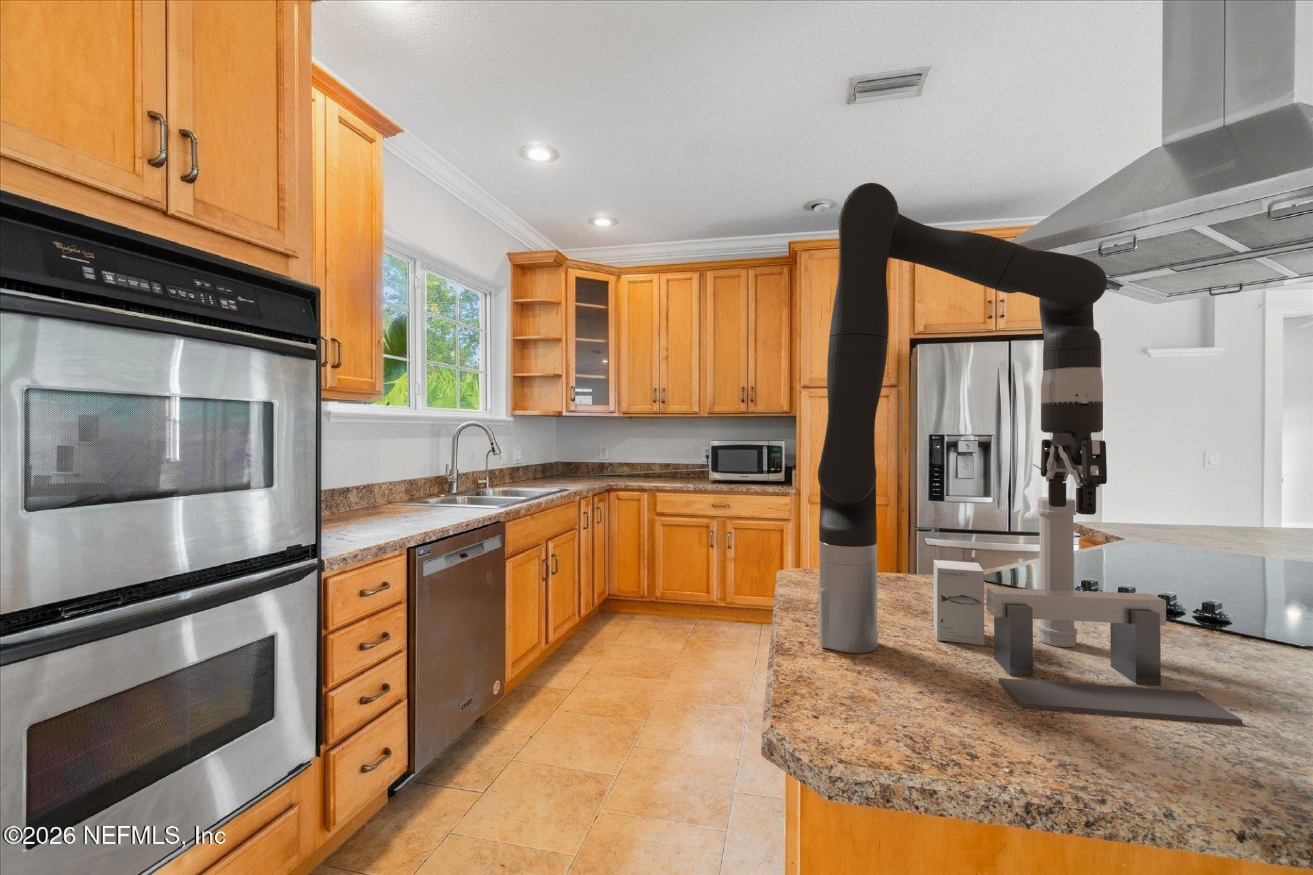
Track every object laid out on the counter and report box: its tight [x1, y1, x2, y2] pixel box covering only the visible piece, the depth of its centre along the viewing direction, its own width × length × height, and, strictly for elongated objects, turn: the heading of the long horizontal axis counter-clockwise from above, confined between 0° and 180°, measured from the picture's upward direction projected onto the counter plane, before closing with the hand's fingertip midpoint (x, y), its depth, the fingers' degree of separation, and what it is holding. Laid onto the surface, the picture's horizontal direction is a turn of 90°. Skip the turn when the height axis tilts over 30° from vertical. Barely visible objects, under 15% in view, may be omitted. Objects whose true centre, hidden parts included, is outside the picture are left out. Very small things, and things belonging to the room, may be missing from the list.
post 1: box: [993, 605, 1034, 678], centre depth 88 cm, size 3×6×10 cm, turn 168°
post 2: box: [1109, 610, 1162, 686], centre depth 85 cm, size 3×6×10 cm, turn 168°
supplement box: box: [933, 559, 985, 647], centre depth 102 cm, size 7×7×13 cm
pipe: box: [1032, 463, 1078, 648], centre depth 99 cm, size 6×6×30 cm
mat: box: [998, 677, 1243, 726], centre depth 77 cm, size 24×8×1 cm, turn 78°
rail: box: [986, 587, 1167, 626], centre depth 87 cm, size 22×4×4 cm, turn 78°
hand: (1071, 510), depth 87 cm, fingers open, 8 cm apart
